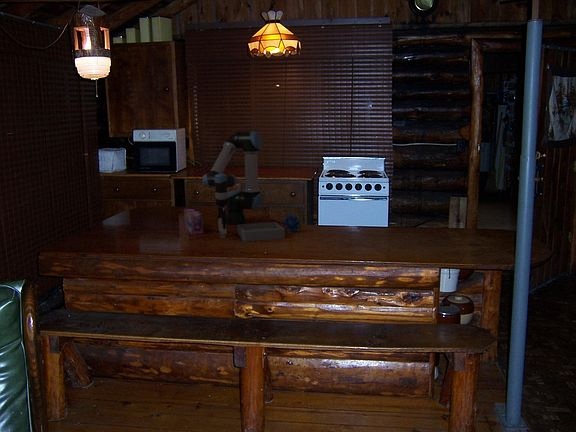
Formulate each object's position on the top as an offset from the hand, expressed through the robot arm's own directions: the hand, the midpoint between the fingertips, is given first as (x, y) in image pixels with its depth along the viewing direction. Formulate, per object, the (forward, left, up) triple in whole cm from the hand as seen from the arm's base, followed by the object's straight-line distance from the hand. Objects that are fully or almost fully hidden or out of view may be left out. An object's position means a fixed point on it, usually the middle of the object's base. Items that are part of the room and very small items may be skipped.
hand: (222, 231), depth 368 cm
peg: (0, 0, -4) cm, 4 cm away
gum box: (-24, -15, -4) cm, 29 cm away
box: (+5, +24, -4) cm, 25 cm away
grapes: (+1, +46, -4) cm, 46 cm away
